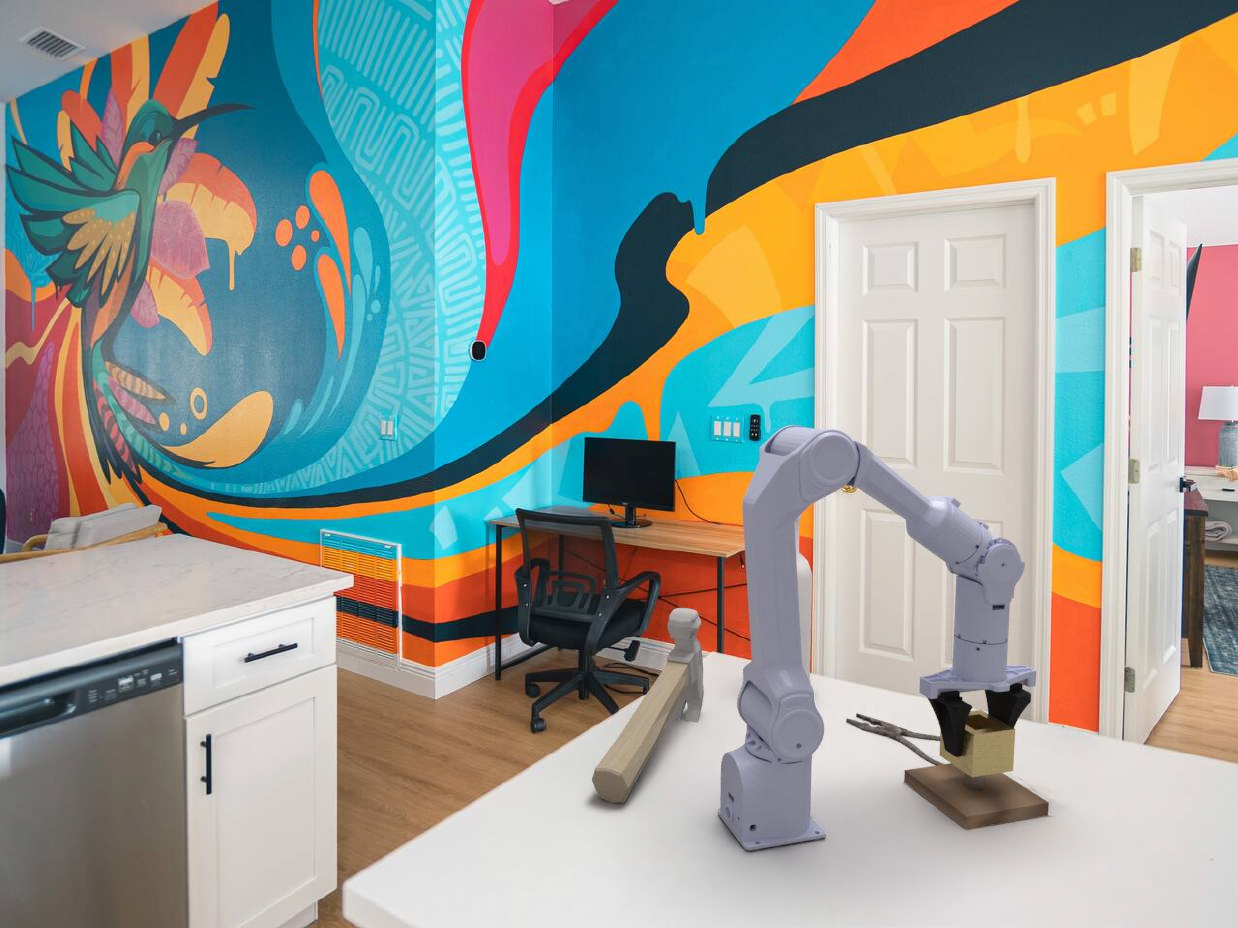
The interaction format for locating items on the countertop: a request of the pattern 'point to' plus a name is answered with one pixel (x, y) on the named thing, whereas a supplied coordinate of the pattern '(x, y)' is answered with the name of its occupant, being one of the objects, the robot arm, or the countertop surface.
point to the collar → (984, 746)
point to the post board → (975, 796)
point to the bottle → (804, 601)
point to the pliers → (895, 734)
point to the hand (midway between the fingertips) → (975, 749)
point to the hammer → (656, 710)
